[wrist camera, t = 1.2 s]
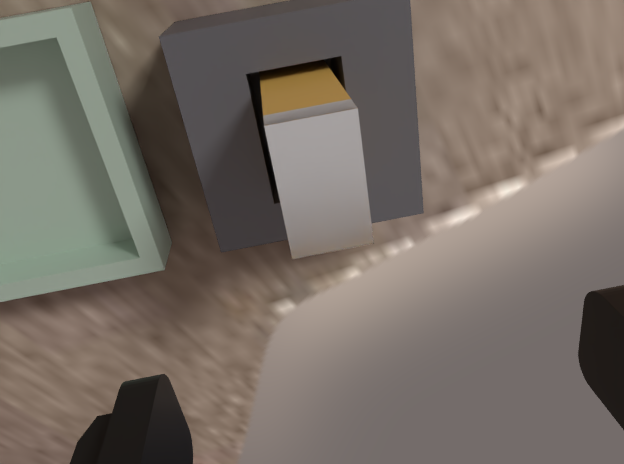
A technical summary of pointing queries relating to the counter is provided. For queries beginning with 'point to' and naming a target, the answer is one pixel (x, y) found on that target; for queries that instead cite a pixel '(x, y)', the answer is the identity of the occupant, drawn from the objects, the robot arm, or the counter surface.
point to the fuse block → (249, 113)
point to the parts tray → (69, 161)
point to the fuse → (316, 158)
